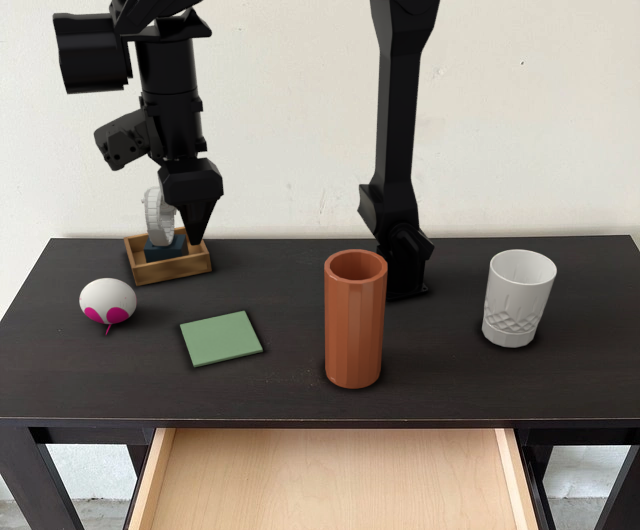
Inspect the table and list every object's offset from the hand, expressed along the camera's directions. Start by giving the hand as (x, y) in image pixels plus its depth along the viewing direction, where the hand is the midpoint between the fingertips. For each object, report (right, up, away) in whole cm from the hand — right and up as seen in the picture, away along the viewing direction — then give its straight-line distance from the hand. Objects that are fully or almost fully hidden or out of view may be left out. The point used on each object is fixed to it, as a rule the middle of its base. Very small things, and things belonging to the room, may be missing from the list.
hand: (188, 226), depth 79 cm
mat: (+3, -12, +8) cm, 15 cm away
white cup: (+41, -12, +8) cm, 43 cm away
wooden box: (-7, +1, +21) cm, 22 cm away
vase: (+20, -17, +3) cm, 26 cm away
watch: (-7, +1, +21) cm, 22 cm away
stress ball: (-13, -10, +11) cm, 19 cm away
